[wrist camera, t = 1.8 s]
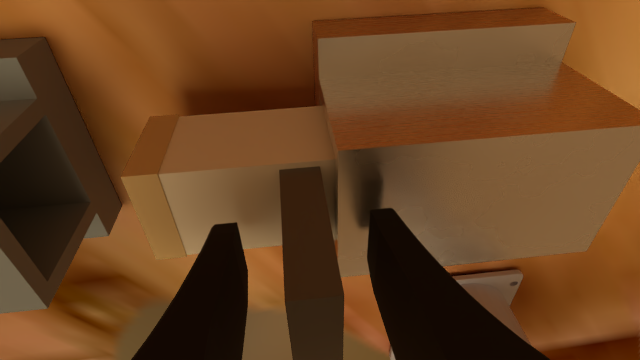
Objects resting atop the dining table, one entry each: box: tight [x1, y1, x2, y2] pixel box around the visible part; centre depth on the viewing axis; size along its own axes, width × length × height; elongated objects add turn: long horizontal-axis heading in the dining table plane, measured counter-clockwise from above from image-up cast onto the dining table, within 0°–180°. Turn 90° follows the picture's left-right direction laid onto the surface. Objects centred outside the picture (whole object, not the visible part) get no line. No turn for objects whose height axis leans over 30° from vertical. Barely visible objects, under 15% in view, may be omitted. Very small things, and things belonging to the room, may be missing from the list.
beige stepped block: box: [312, 8, 640, 277], centre depth 15 cm, size 9×8×7 cm
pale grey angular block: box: [121, 106, 344, 360], centre depth 12 cm, size 14×4×8 cm, turn 91°
